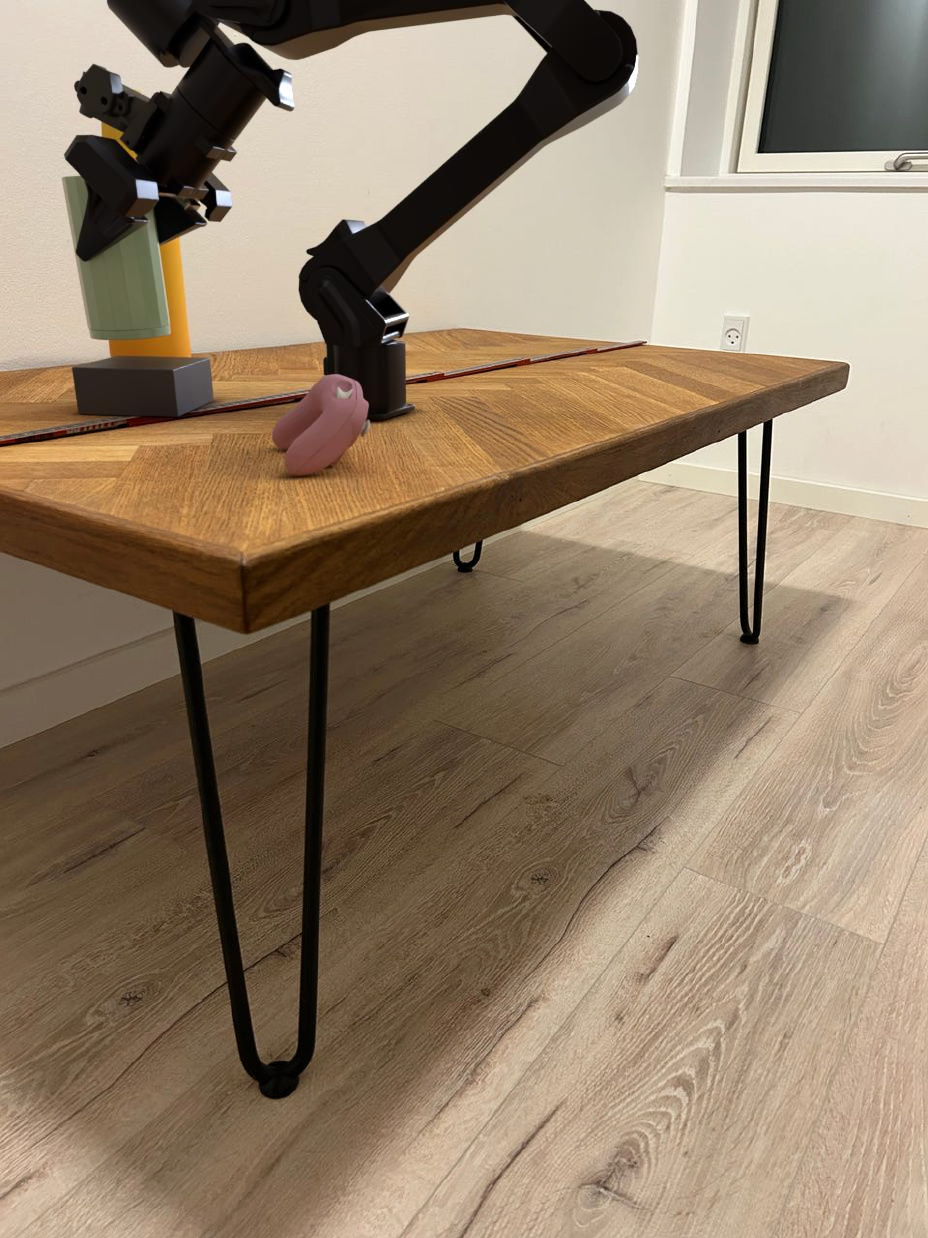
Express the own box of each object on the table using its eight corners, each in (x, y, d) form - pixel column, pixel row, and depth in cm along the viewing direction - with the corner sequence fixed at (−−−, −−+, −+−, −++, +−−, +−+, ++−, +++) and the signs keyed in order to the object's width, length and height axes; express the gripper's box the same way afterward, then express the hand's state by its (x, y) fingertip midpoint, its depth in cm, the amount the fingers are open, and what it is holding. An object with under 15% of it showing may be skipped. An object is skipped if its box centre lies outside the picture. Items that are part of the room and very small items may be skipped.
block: (214, 400, 87) (210, 357, 86) (178, 417, 79) (173, 369, 77) (123, 398, 88) (117, 355, 86) (78, 414, 80) (71, 367, 78)
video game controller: (344, 498, 60) (389, 401, 59) (280, 471, 58) (325, 369, 57) (322, 465, 69) (361, 380, 67) (266, 441, 67) (304, 352, 66)
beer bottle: (95, 367, 108) (56, 87, 97) (157, 360, 115) (127, 98, 104) (147, 374, 104) (113, 81, 93) (208, 365, 111) (183, 93, 100)
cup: (184, 330, 86) (163, 177, 80) (146, 340, 79) (121, 174, 74) (116, 330, 87) (92, 178, 82) (74, 339, 81) (44, 176, 75)
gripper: (186, 55, 82) (93, 192, 88) (66, 6, 65) (-39, 179, 71) (276, 152, 84) (178, 279, 90) (183, 128, 67) (70, 287, 73)
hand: (104, 257), depth 81 cm, fingers closed on cup, 7 cm apart
